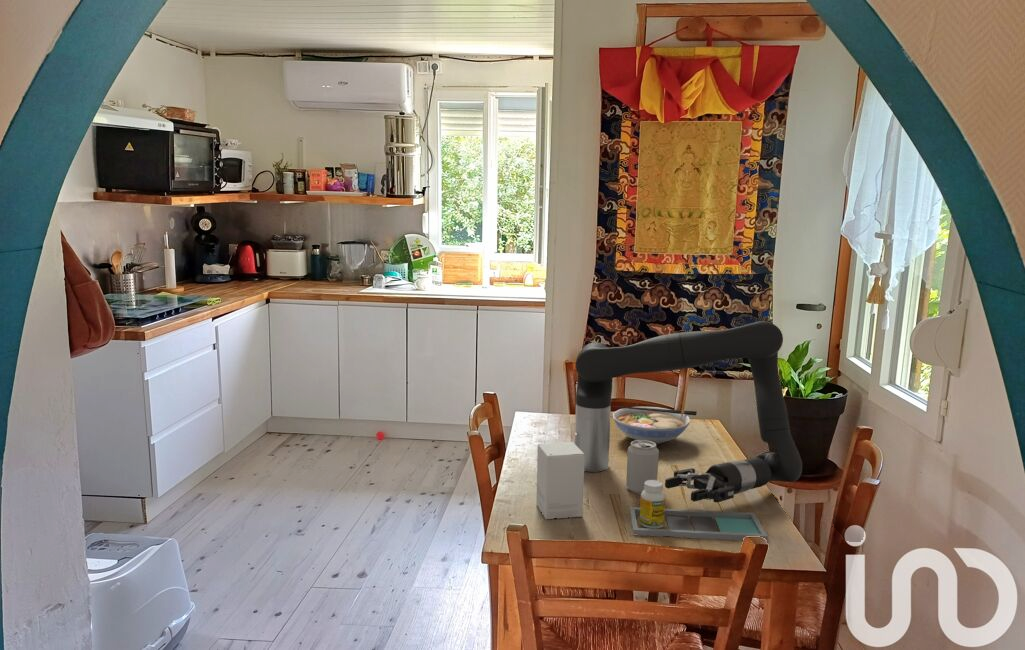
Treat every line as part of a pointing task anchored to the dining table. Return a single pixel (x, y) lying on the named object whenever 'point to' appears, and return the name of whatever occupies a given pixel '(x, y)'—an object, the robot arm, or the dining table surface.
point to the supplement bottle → (652, 505)
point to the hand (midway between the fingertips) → (678, 490)
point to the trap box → (704, 524)
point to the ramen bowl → (652, 423)
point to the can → (641, 464)
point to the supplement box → (560, 480)
